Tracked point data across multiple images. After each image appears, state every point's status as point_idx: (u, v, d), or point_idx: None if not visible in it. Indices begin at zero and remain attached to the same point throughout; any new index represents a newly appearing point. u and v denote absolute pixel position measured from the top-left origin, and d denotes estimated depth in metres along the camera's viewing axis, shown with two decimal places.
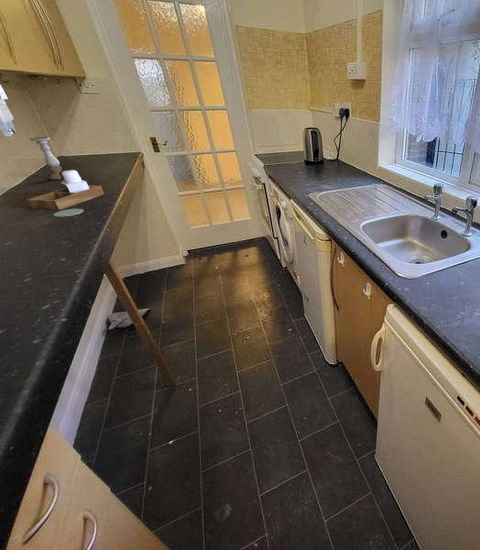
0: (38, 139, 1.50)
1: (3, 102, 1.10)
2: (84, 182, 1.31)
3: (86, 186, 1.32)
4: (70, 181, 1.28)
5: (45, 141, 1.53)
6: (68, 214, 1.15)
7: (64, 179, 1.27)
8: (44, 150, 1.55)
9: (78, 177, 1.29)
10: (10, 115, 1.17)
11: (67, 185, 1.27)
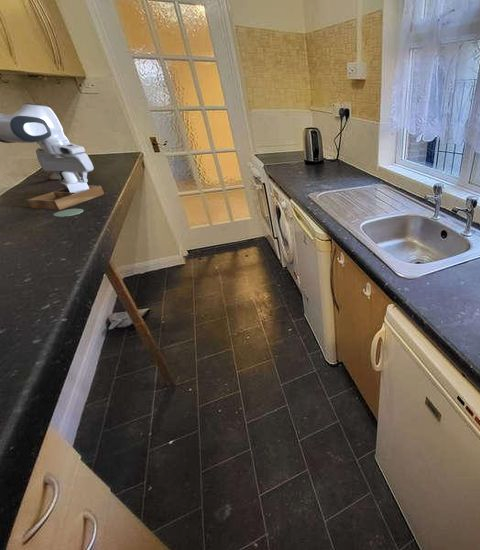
0: None
1: None
2: (84, 182, 1.31)
3: (86, 186, 1.32)
4: (70, 181, 1.28)
5: None
6: (68, 214, 1.15)
7: (64, 179, 1.27)
8: None
9: (78, 177, 1.30)
10: None
11: (67, 185, 1.27)
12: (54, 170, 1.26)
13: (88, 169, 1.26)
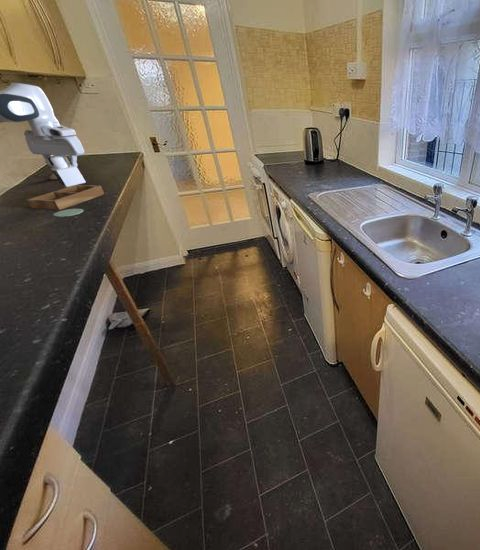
0: None
1: None
2: (74, 167, 1.27)
3: (77, 171, 1.28)
4: (60, 167, 1.24)
5: None
6: (68, 214, 1.15)
7: (54, 165, 1.23)
8: None
9: (68, 162, 1.26)
10: None
11: (57, 171, 1.23)
12: (43, 153, 1.22)
13: (79, 153, 1.23)
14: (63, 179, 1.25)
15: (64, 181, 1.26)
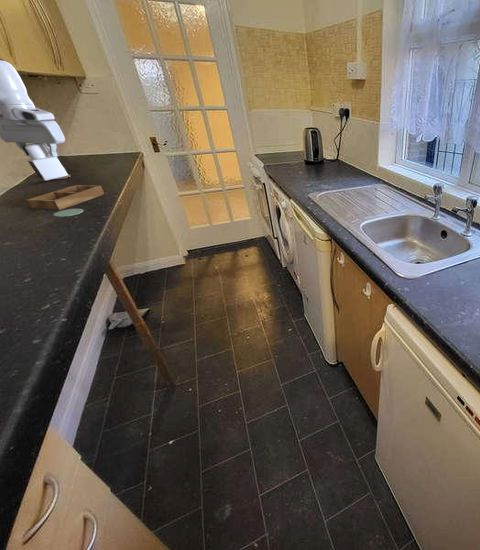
0: None
1: None
2: (54, 157, 1.10)
3: (57, 162, 1.11)
4: (37, 157, 1.07)
5: None
6: (68, 214, 1.15)
7: (29, 155, 1.06)
8: None
9: (46, 152, 1.08)
10: None
11: (34, 161, 1.06)
12: (16, 141, 1.05)
13: (58, 140, 1.05)
14: (41, 171, 1.08)
15: (42, 174, 1.08)
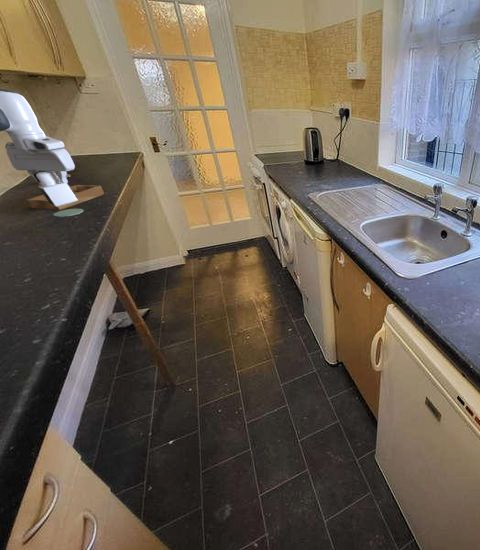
0: None
1: None
2: (64, 184, 1.11)
3: (67, 188, 1.12)
4: (48, 184, 1.09)
5: None
6: (68, 214, 1.15)
7: (40, 182, 1.08)
8: None
9: (56, 178, 1.10)
10: None
11: (44, 189, 1.08)
12: (28, 169, 1.07)
13: (68, 168, 1.07)
14: (51, 198, 1.09)
15: (53, 200, 1.10)
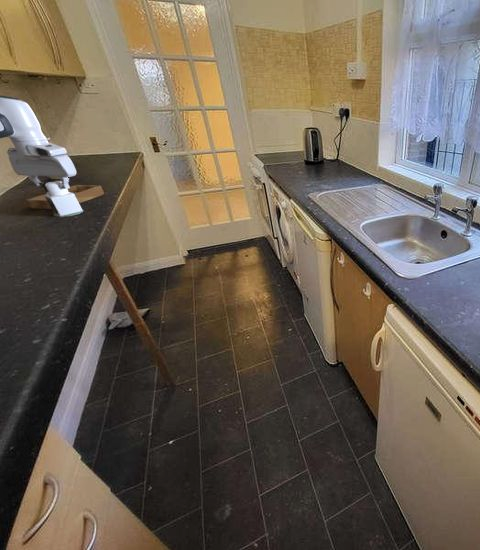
0: None
1: None
2: (72, 195, 1.14)
3: (74, 199, 1.15)
4: (55, 194, 1.11)
5: None
6: (68, 214, 1.15)
7: (48, 192, 1.10)
8: None
9: (65, 189, 1.13)
10: None
11: (52, 198, 1.10)
12: (29, 174, 1.08)
13: (70, 174, 1.08)
14: (57, 207, 1.12)
15: (58, 210, 1.12)
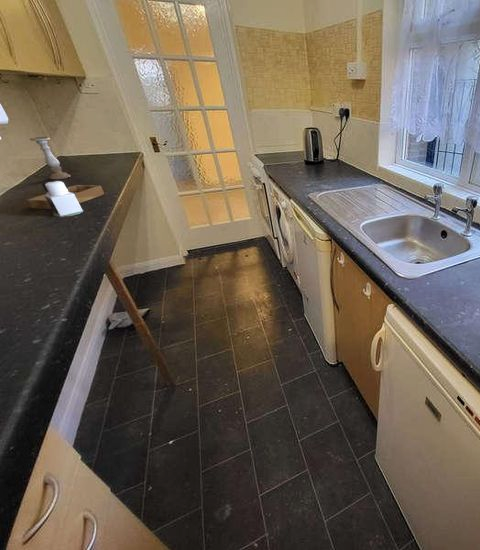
0: (38, 139, 1.50)
1: None
2: (72, 195, 1.14)
3: (74, 199, 1.15)
4: (55, 194, 1.11)
5: (45, 141, 1.53)
6: (68, 214, 1.15)
7: (48, 192, 1.10)
8: (44, 150, 1.55)
9: (65, 189, 1.13)
10: None
11: (52, 199, 1.10)
12: None
13: None
14: (57, 207, 1.12)
15: (58, 210, 1.12)
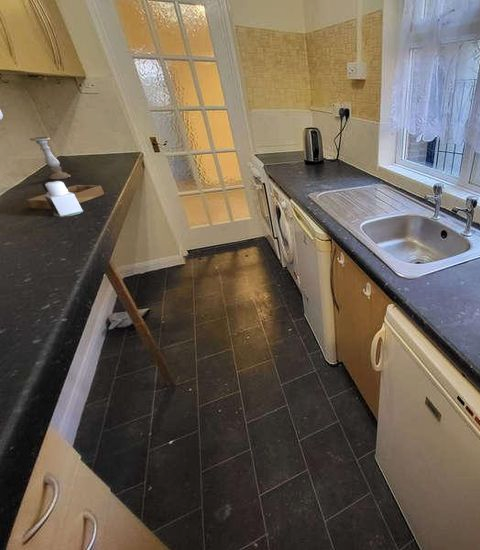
0: (38, 139, 1.50)
1: None
2: (72, 195, 1.14)
3: (74, 199, 1.15)
4: (55, 194, 1.11)
5: (45, 141, 1.53)
6: (68, 214, 1.15)
7: (48, 192, 1.10)
8: (44, 150, 1.55)
9: (65, 189, 1.13)
10: None
11: (52, 199, 1.10)
12: None
13: None
14: (57, 207, 1.12)
15: (58, 210, 1.12)
